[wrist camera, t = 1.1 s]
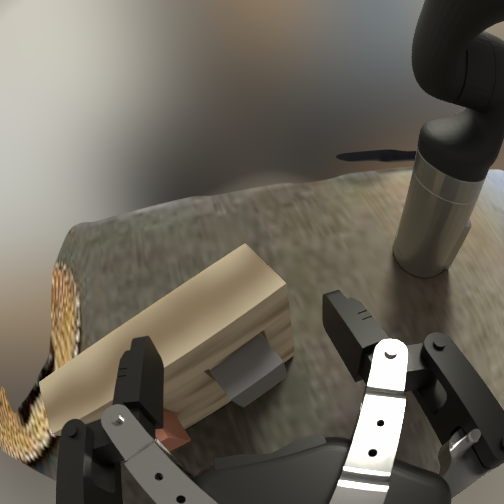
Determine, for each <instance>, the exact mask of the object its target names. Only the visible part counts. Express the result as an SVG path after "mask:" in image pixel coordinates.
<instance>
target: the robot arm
mask: <svg viewBox="0 0 504 504" xmlns="http://www.w3.org/2000/svg"><path fill="white" fill-rule="evenodd" d="M502 21H504V0H425V2H424V5H423V8H422V11H421V14H420V16H419V20H418V23H417V26H416V30H415V34H414V38H413V45H412V67H413V72H414V75H415V78H416V81H417V82H418V84H419V86H420V87H421V88H422V89H423V90H424V91H425V92H426V93H428V94H429V95H431V96H433V97H435V98H437V99H440V100H443V101H446V102H449V103H453V104H456V105H460V106H463V107H466V109H465V110H464V111H463V112H461V113H459V114H457V115H455V116H452V117H448V118H441V119H434V120H430V121H428V122H426V123H425V124H424V125H423V126H422V128H421V130H420V134H419V141H418V147H417V152H416V157H415V163H414V167H413V172H412V177H411V181H410V186H409V190H408V194H407V198H406V202H405V206H404V209H403V213H402V217H401V220H400V224H399V227H398V230H397V233H396V236H395V240H394V244H393V253H394V256H395V258H396V260H397V262H398V263H399V265H400V266H401V267H402V268H403V269H404V270H406V271H407V272H409V273H410V274H412V275H415V276H417V277H422V278H430V277H434V276H436V275H438V274H439V273H440V272H441V271H442V270H445V269H449V267H450V265H451V264H452V262H453V260H454V258H455V257H456V255H457V253H458V251H459V249H460V248H461V246H462V244H463V242H464V240H465V238H466V236H467V234H468V232H469V230H470V228H471V222H470V220H469V218H470V215H471V213H472V211H473V208H474V206H475V204H476V201H477V199H478V196H479V194H480V191H481V189H482V186H483V184H484V181H485V178H486V175H487V173H488V170H489V168H490V166H491V165H492V164H493V163H494V162H495V160H496V158H497V156H498V154H499V151H500V148H501V145H502V142H503V139H504V41H503V40H501V39H500V38H498V37H496V36H494V35H491V34H489V33H487V32H485V31H484V30H485V29H487V28H488V27H490V26H492V25H494V24H496V23H499V22H502ZM323 325H324V328H325V330H326V332H327V334H328V336H329V337H330V339H331V341H332V343H333V344H334V346H335V348H336V349H337V351H338V353H339V355H340V356H341V358H342V360H343V361H344V363H345V365H346V367H347V368H348V370H349V372H350V374H351V375H352V377H353V379H354V381H355V382H358V381H360V380H364V382H365V383H366V386H365V390H364V394H363V398H362V402H361V405H360V409H359V413H358V416H357V420H356V423H355V426H354V429H353V432H352V435H351V438H350V439H346V438H340V437H326V438H324V435H323V433H322V432H321V433H318V434H315V435H312V436H309V437H305V438H302V439H299V440H296V441H294V442H292V443H290V444H288V445H287V446H285V447H283V448H281V449H279V450H277V451H275V452H273V453H270V454H237V455H231V456H225V457H219V458H213V459H214V465H212V466H210V467H208V468H206V469H204V470H203V471H201V472H200V473H199V474H197V475H196V476H195V475H194V474H193V473H192V472H191V471H189V470H188V469H187V468H186V467H185V466H184V465H183V464H182V463H181V462H179V461H178V460H177V459H176V458H175V456H174V455H173V454H172V453H171V452H170V451H169V450H168V449H167V448H166V447H165V446H164V445H163V444H162V443H161V442H160V441H159V440H158V438H157V437H156V436H155V429H163V428H164V421H163V397H164V365H163V361H162V358H161V356H160V354H159V353H158V351H157V349H156V347H155V345H154V344H153V342H152V340H151V338H150V337H149V336H143V337H137V338H133V339H132V342H131V348H130V350H127V351H125V352H124V354H123V355H122V357H121V358H120V361H119V367H118V372H117V378H116V384H115V390H114V396H113V403H112V406H110V407H108V408H107V409H106V410H105V411H104V413H103V415H102V418H101V419H99V420H96V421H93V422H91V423H88V424H85V423H84V422H82V421H81V420H79V419H71V420H69V421H68V422H66V423H65V425H64V426H63V428H62V431H61V438H60V446H59V455H58V467H57V483H56V484H57V485H56V504H123V500H122V487H121V466H120V461H122V460H125V462H124V464H125V466H126V467H127V469H128V470H129V471H130V473H131V474H132V475H133V476H134V478H135V479H136V480H137V481H138V483H139V484H140V485H141V486H142V488H143V489H144V490H145V491H146V492H147V493H148V495H149V496H150V497H151V498H152V499H153V500H154V501H155V502H156V504H451V498H453V497H454V496H455V495H457V494H459V493H460V492H461V491H463V490H464V489H466V488H467V487H468V486H470V485H471V484H472V483H473V482H475V481H476V480H477V479H479V478H480V477H482V476H484V475H485V474H487V473H489V472H490V471H492V470H493V469H495V468H496V467H498V466H500V465H501V464H502V463H504V410H503V409H502V407H501V406H500V404H499V403H498V401H497V400H496V398H495V397H494V396H493V394H492V393H491V391H490V390H489V388H488V387H487V385H486V384H485V383H484V381H483V380H482V379H481V377H480V376H479V374H478V373H477V372H476V370H475V369H474V368H473V366H472V365H471V364H470V362H469V361H468V360H467V359H466V357H465V356H464V355H463V353H462V352H461V351H460V350H459V348H458V347H457V346H456V345H455V343H454V342H453V341H452V340H451V339H450V338H449V337H448V336H447V335H446V334H443V333H440V332H434V333H431V334H429V335H428V336H427V337H426V338H425V340H424V343H420V344H413V345H404V344H403V343H402V342H400V341H398V340H395V339H390V338H389V337H388V336H387V334H386V333H385V332H384V331H383V329H382V328H381V327H380V325H379V324H378V323H377V322H376V320H375V319H374V318H373V317H372V315H371V314H370V313H369V312H368V311H367V309H366V308H365V307H364V306H363V304H362V303H361V302H359V301H357V300H356V299H354V298H352V297H351V298H348V299H346V297H345V296H344V295H343V294H342V292H341V291H340V290H336V291H333V292H330V293H326V294H324V295H323ZM411 390H412V392H413V394H414V395H415V397H416V399H417V401H418V402H419V404H420V406H421V408H422V409H423V411H424V413H425V415H426V416H427V418H428V420H429V422H430V423H431V425H432V427H433V429H434V431H435V433H436V434H437V436H438V438H439V440H440V442H441V444H442V447H441V448H440V451H439V454H438V459H439V463H440V472H439V475H438V474H436V473H434V472H431V471H428V470H425V469H422V468H419V467H416V466H413V465H411V464H408V463H405V462H403V461H400V460H397V459H395V454H396V450H397V446H398V441H399V436H400V431H401V426H402V420H403V415H404V408H405V402H406V394H404V392H405V391H411Z"/></svg>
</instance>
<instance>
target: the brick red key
mask: <svg viewBox="0 0 504 504" xmlns="http://www.w3.org/2000/svg"><path fill="white" fill-rule="evenodd" d="M163 421H164V428H163V429H155V436H156V437H157V438H158V440H159V441H160V442H161V443H162V444H163V445H164V446H165V447H166V448H167V449H168V450H169V451H172V450H174V449H176V448H178V447H180V446H182V445H183V444H185V443H187V442H189V441H191V439H190V437H189V436H188V434H187V432H186V431H185V429H184V428H183V426H182V424H181V423H180V421H179V420H178V418H177V416H176V415H174V414H171V413H167V412H164V411H163Z"/></svg>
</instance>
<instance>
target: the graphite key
mask: <svg viewBox="0 0 504 504" xmlns="http://www.w3.org/2000/svg"><path fill="white" fill-rule="evenodd" d="M210 372H211V373H212V374H213V376H214V377H215V379H216V380H217V382H218V383H219V385H220V386H221V387H222V389H223V390H224V392H225V393H226V394H227V396H228V397H229V399H230V400H232V401H233V402H235V403H236V404H238V405H240V406H241V407H243V408H244V407H245V406H247V405H248V404H250V403H251V402H253V401H254V400H256V399H257V398H258V397H260V396H261V395H263V394H264V393H266V392H267V391H268V390H270V389H271V388H272V387H274V386H275V385H276V384H278V383H279V382H280V381H282V380H283V379H284V378H286V377H287V373H286V368H285V364H284V361H283V360H282V359H281V358H280V357H279V355H278V354H277V353H276V352H275V351H274V350H273V348H272V347H271V346H270V345H269V344H268V343H267V341H266V340H265V339H264V338H263V337H262V336H261V335H259V336H258V337H256V338H255V339H254V340H252V341H251V342H250V343H248V344H247V345H245V346H244V347H243V348H241V349H240V350H238V351H237V352H235V353H234V354H233V355H231V356H230V357H228V358H227V359H225V360H224V361H222V362H221V363H219V364H218V365H216V366H215V367H214V368H212V369H211V370H210Z"/></svg>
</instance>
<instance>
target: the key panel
mask: <svg viewBox="0 0 504 504" xmlns="http://www.w3.org/2000/svg"><path fill="white" fill-rule="evenodd" d="M259 335H261V336H262V337H263V338H264V339H265V340H266V341H267V343H268V344H269V345H270V346H271V347H272V348H273V350H274V351H275V352H276V353H277V354H278V355H279V357H280V358H281V359H282V360H283V361H284V363H285V362H286V361H287V360H289V359H290V358H291V357H292V356H294V346H293V337H292V328H291V319H290V311H289V302H288V294H287V286H286V283H285V282H284V281H283V280H282V279H281V278H280V277H279V276H278V275H277V274H276V273H275V272H274V271H273V270H272V269H271V268H270V267H269V266H268V265H267V264H266V263H265V262H264V261H263V260H262V259H261V258H260V257H259V256H258V255H257V254H256V253H255V252H254V251H253V250H252V249H250V248H249V247H248V246H247V245H246V244H243V245H242V246H240V247H239V248H237V249H236V250H234V251H233V252H231V253H229V254H228V255H226V256H225V257H223V258H222V259H220V260H219V261H217V262H216V263H214V264H213V265H211V266H210V267H208V268H207V269H205V270H204V271H202V272H201V273H199V274H198V275H196V276H195V277H193V278H192V279H190V280H189V281H187V282H186V283H184V284H183V285H181V286H180V287H178V288H177V289H175V290H174V291H172V292H171V293H169V294H168V295H166V296H165V297H163V298H162V299H160V300H159V301H157V302H156V303H154V304H153V305H151V306H150V307H148V308H147V309H145V310H144V311H142V312H141V313H139V314H138V315H136V316H135V317H133V318H132V319H130V320H129V321H127V322H126V323H124V324H123V325H121V326H120V327H119V328H117V329H116V330H114V331H113V332H111V333H110V334H108V335H107V336H105V337H104V338H102V339H101V340H99V341H98V342H96V343H95V344H94V345H92V346H91V347H89V348H88V349H86V350H85V351H83V352H82V353H80V354H79V355H78V356H76V357H75V358H73V359H72V360H70V361H69V362H67V363H66V364H64V365H63V366H62V367H60V368H59V369H57V370H56V371H54V372H53V373H52V374H50V375H49V376H47V377H46V378H44V379H43V380H41V381H40V382H39V385H40V390H41V394H42V398H43V402H44V406H45V410H46V414H47V418H48V421H49V424H50V428H51V431H52V434H55V435H59V436H61V431H62V428H63V426H64V425H65V423H66V422H68V421H69V420H71V419H79V420H81V421H82V422H84V423H85V424H88V423H91V422H93V421H96V420H99V419H101V418H102V415H103V413H104V411H105V410H106V409H107V408H108V407H110V406H112V403H113V396H114V390H115V384H116V378H117V372H118V367H119V361H120V358H121V357H122V355H123V354H124V352H125V351H127V350H130V348H131V342H132V339H133V338H137V337H143V336H149V337H150V338H151V340H152V342H153V344H154V345H155V347H156V349H157V351H158V353H159V354H160V356H161V358H162V361H163V365H164V397H163V411H164V412H167V413H171V414H174V415H176V416H177V418H178V420H179V421H180V423H181V424H182V426H183V428H184V429H187V428H188V427H190V426H192V425H193V424H195V423H197V422H198V421H200V420H202V419H203V418H205V417H207V416H208V415H210V414H211V413H213V412H215V411H216V410H218V409H219V408H221V407H222V406H224V405H225V404H227V403H229V402H230V401H232V400H230V399H229V397H228V396H227V394H226V393H225V392H224V390H223V389H222V387H221V386H220V385H219V383H218V382H217V380H216V379H215V377H214V376H213V374H212V373H211V372H210V370H211V369H212V368H214V367H215V366H216V365H218V364H219V363H221V362H222V361H224V360H225V359H227V358H228V357H230V356H231V355H233V354H234V353H235V352H237V351H238V350H240V349H241V348H243V347H244V346H245V345H247V344H248V343H250V342H251V341H252V340H254V339H255V338H256V337H258V336H259Z"/></svg>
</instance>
